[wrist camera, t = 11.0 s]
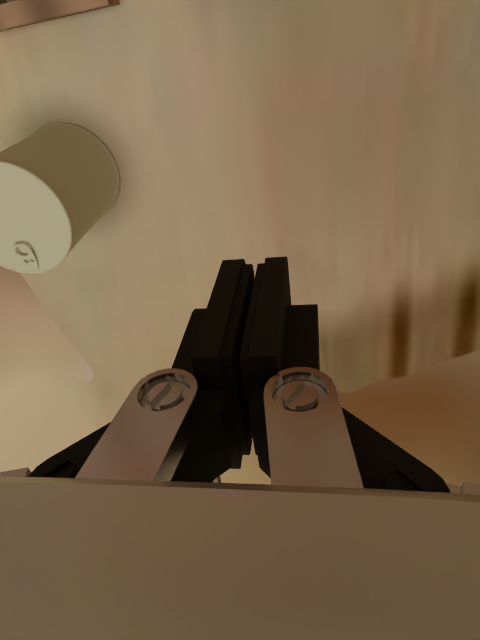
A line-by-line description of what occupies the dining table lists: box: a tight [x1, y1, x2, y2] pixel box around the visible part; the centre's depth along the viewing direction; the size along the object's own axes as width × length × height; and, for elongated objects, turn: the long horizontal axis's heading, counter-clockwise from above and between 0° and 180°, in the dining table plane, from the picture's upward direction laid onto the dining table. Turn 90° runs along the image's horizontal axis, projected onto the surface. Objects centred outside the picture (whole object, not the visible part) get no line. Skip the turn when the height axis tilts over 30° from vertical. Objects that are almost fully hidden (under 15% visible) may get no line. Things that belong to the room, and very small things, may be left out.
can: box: [0, 123, 120, 274], centre depth 39 cm, size 9×9×12 cm
